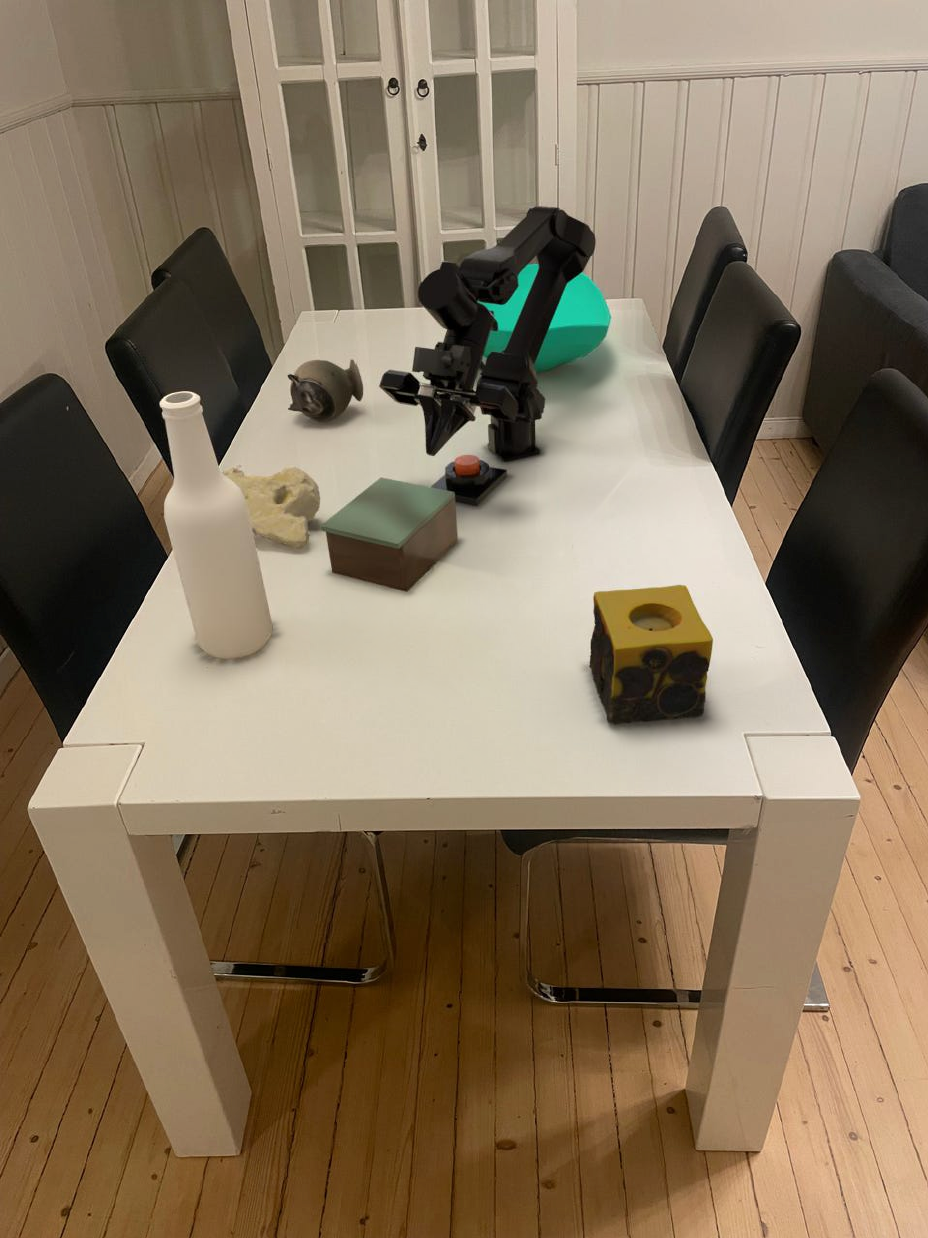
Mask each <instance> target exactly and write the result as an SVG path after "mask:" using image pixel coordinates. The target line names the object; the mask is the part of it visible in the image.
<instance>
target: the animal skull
mask: <svg viewBox="0 0 928 1238" xmlns="http://www.w3.org/2000/svg"><path fill="white" fill-rule="evenodd" d="M240 468H242V465H241V464H238V465H236V466H234V467H232V468H230V469H228V470H225V471H221V472H222V473H223V475H225V476H226V477H227V478H229V479H230V480H232V481H233V482H234V483H235V484H236V485H237V486H238V487H239V488H240V490H241V492H242V494H243V496H244V498H245V500H246V502H247V506H248V511H249V516H250V520H251V525H252V530H253V531H255V532H256V534H258V535H259V536H263V537H264V538H267V539H269V540H272V541H275V542H276V543H279V544H285V545H286V546H290V547H293V548H296V549H303V548H305V547H307V546H308V545H309V540H310V535H309V523H308V522H310V521H311V520H313V519H314V517H315V516H316V514H317V513H318V512H319V510H320V506H321V495H320V490H319V489H320V488H319V484H318V483H317V482H316V480H315V479H313V477H311V475H309V474H308V473H306V472H305V471H304V470H302V469H301V468H300V467H296V466H294V467H287V468H286V467H285V468H283V469H282V470H280V471H278V472H276V473H273V474H272V475H268V476H256V475H248V476H246V474H245V472H244V471H243V470H242V469H240Z"/></svg>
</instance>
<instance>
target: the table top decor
mask: <svg viewBox="0 0 928 1238" xmlns="http://www.w3.org/2000/svg"><path fill="white" fill-rule="evenodd" d="M538 268H539V266H538V263H534V264H532V263H531V264H528V265H527V266H526V267H525V268H524V269H523V270H522V271H521V272H520V273H519V275H518V284H519V286H518V288H517V289H516V291H515V292H514V294H513V295H512V297H511V298H510V300H509V301H508V302H507V303H506V304H504V305H498V304H490V303H482V302H477V303H481V304H483V305H484V306H486V307H487V309H488V310H491V311H494V316H495V319H496V321H497V322H498V331H491V332H490V335H489V338H488V342H487V345H486V348H485V351H484V355H483V358H486V359H487V357H488V355H489V354H490V353H491V352H492V351H493V352H499V353H501V352H502V351H503V350H505V348H506V346H507V344H508V342H509V339H510V337H511V334H512V332H513V330H514V327H515V325H516V322H517V320H518V317H519V315H520V313H521V310H522V308H523V305H524V303H525V300H526V298H527V296H528V293H529V291H530V288H531V286H532V283H533V281H534V279H535V276H536V274H537V271H538ZM611 320H612V316H611V312H610V308H609V307H608V304H607V302H606V300H605V297H604V295H603V292H602V291H601V289H600V288H599V287H598V285H596V283H594V281H593V280H592V279H591V278H590V276H588V275H586V274H585V273H583V272H582V273H580V274H579V275H578V276H576V277H575V278H574V279H572V280H571V281H570V282H568V283H567V285H566V287H565V290H564V292H563V295H562V297H561V300H560V302H559V304H558V307H557V309H556V312H555V314H554V317H553V319H552V322H551V324H550V327H549V329H548V332H547V334H546V337H545V339H544V342H543V344H542V346H541V349H540V351H539V354H538V356H537V359H536V361H535V364H534V366H535V371H536V373H542V372H547V371H549V370H552V369H553V368H555V367H557V366H559V365H565V364H567V363H573V362H574V361H576V360H578V359H580V358H581V359H582V358H583V357H585V356H587V355H588V354H590V353H591V352H592V351H594V350H595V349H597V347H599V346H600V345H601V344H602V342H603V341H604V340H605V338H606V337H607V334H608V331H609V328H610V324H611Z"/></svg>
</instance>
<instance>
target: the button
mask: <svg viewBox="0 0 928 1238" xmlns="http://www.w3.org/2000/svg"><path fill="white" fill-rule="evenodd" d="M479 460H480V458H479V457H478V456H477V455H473V454H463V455H459V456H457V457H456V458H455V459H454V461H453V462H455V472H456V473H457V474H460V475H472V474H475V473H478V472H479V471H480V466H479Z"/></svg>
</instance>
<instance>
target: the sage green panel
mask: <svg viewBox="0 0 928 1238" xmlns="http://www.w3.org/2000/svg"><path fill="white" fill-rule="evenodd" d="M454 497H455V492H451V491H446V490H441V489H436V488H431V486H425V485H420V484H416V483H412V482H406V481H401V480H397V479H391V478H388V477H387V478H386V477H379V478H378V479H377V480H375V481H374V482H373V483H372V484H371V485H369V486H368V487H367V488H366V489H364V490H363V491H362V492H360V494H358V495H357V496H356V497H354V498H353V499H352V500H351V501H350V502H348V503H347V504H346V505H345V506H344V507H342V508H341V509H340V510H338V511H337V512H336V513H334V514H333V515H332V516H330V517H329V518H328V519H327V520H326V521H325V522H324V523H322V524H321V525H320V531H321V532H325V533H326V532H329V533H334V534H338V535H342V536H346V537H351V538H355V539H359V540H363V541H367V542H372V543H376V544H380V545H384V546H389V547H393V548H397V549H399V548H400V547H401V546H403V545H404V544H405V543H406V542H407V541H408V540H409V539H410V538H411V537H412V536H413V535H414V534H415V533H417V532H418V531H419V530H420V529H421V528H422V527H423V526H424V525H425V524H426V523H427V522H428V521H429V520H431V519H432V518H433V517H434V516H435V515H436V514H437V513H438V512H439V511H440V510H441V509H442V508H443V507H445V506H446V505H447V504H448V503H449V502H450V501H451V500H452V499H453V498H454Z"/></svg>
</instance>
